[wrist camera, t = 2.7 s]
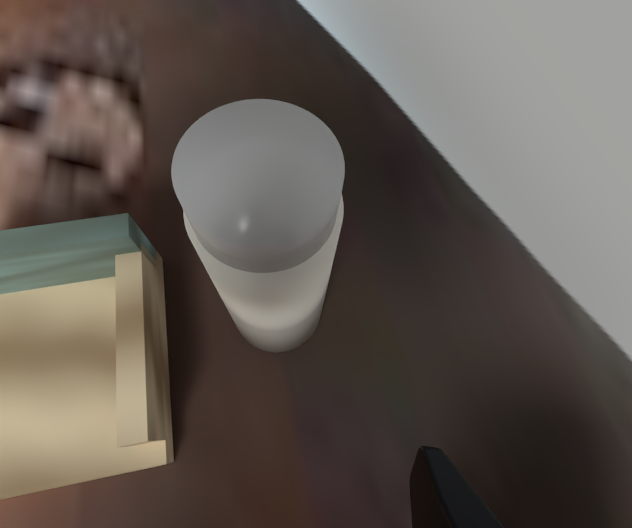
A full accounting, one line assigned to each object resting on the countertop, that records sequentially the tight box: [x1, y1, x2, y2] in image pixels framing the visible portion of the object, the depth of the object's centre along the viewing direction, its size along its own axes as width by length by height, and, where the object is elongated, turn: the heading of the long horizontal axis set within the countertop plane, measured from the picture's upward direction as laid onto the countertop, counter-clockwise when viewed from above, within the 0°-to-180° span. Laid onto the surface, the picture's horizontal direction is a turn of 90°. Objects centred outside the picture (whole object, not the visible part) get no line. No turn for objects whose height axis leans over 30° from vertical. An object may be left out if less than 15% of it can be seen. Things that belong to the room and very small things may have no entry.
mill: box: [171, 99, 345, 352], centre depth 16 cm, size 5×5×13 cm
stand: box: [0, 213, 174, 500], centre depth 18 cm, size 11×10×5 cm
